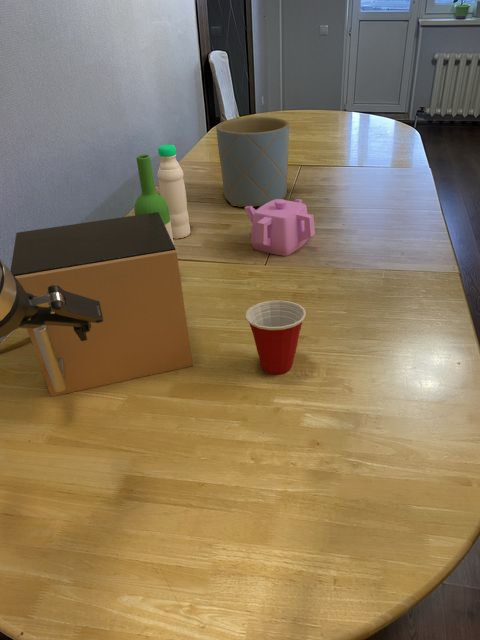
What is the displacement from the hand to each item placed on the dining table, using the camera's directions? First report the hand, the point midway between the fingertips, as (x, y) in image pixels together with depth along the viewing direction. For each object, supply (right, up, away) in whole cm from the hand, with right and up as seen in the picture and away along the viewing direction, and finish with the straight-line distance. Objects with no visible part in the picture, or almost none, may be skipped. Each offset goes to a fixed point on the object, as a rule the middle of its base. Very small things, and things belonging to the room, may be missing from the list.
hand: (29, 341), depth 68 cm
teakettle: (+36, +29, +76) cm, 89 cm away
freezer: (+2, -1, +36) cm, 36 cm away
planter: (+29, +50, +106) cm, 121 cm away
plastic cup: (+34, -4, +31) cm, 46 cm away
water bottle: (+6, +33, +83) cm, 90 cm away
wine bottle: (+6, +16, +60) cm, 62 cm away
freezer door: (+6, -8, +26) cm, 28 cm away
